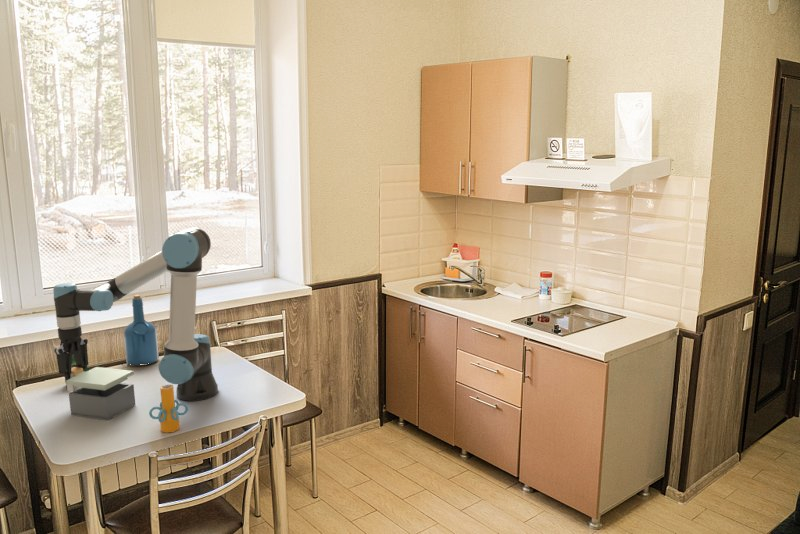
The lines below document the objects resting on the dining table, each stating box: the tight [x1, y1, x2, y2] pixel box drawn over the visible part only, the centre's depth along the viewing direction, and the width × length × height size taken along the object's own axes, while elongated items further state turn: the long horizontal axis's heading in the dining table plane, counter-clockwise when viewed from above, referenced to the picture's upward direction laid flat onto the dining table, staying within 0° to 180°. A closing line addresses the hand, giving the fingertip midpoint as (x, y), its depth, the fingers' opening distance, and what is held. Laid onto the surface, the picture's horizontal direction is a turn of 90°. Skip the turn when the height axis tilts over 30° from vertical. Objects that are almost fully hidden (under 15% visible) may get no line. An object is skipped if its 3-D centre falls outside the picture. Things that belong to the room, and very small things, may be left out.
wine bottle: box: [123, 294, 160, 366], centre depth 288 cm, size 14×13×30 cm
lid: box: [65, 366, 135, 390], centre depth 238 cm, size 22×15×4 cm
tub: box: [68, 382, 136, 421], centre depth 239 cm, size 16×14×8 cm
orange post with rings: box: [149, 384, 189, 434], centre depth 222 cm, size 12×10×15 cm
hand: (76, 388), depth 242 cm, fingers closed on lid, 4 cm apart
